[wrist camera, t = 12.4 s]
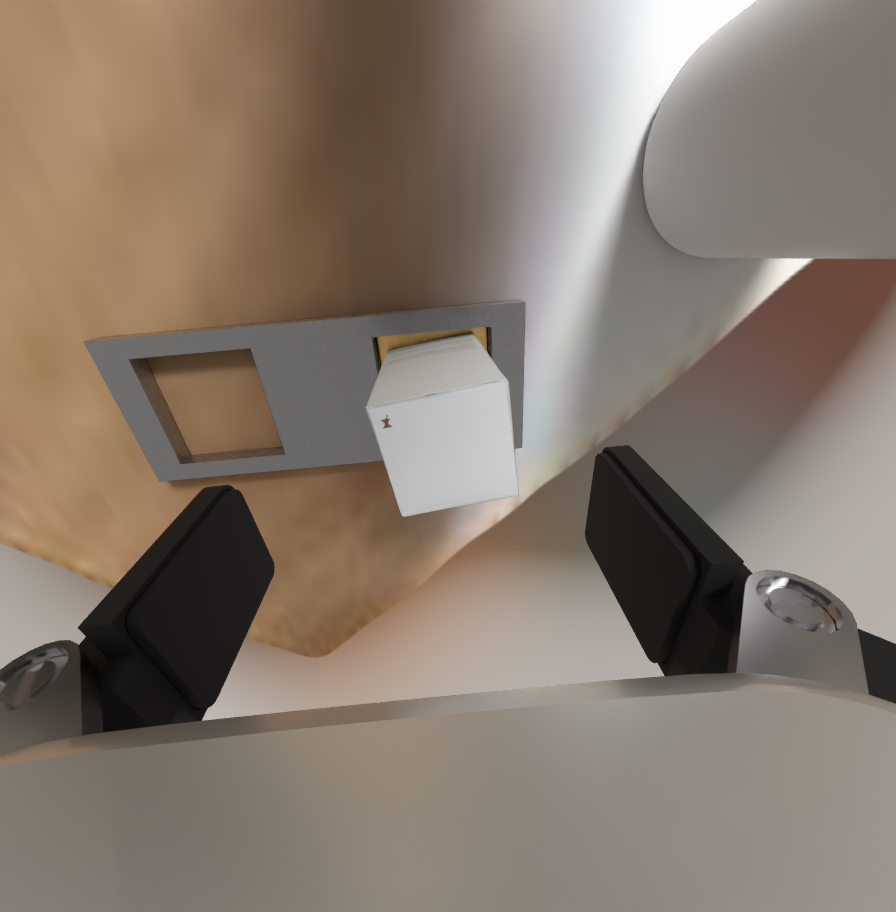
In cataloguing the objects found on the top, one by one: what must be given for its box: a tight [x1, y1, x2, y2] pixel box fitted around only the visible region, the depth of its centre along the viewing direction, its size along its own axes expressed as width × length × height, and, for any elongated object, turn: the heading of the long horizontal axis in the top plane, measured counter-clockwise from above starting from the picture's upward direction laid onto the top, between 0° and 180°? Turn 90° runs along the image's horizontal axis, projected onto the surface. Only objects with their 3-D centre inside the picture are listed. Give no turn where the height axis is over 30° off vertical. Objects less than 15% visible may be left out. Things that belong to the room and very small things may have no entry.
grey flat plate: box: [84, 300, 525, 482], centre depth 30 cm, size 12×32×2 cm, turn 95°
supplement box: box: [366, 333, 519, 517], centre depth 25 cm, size 7×7×13 cm
